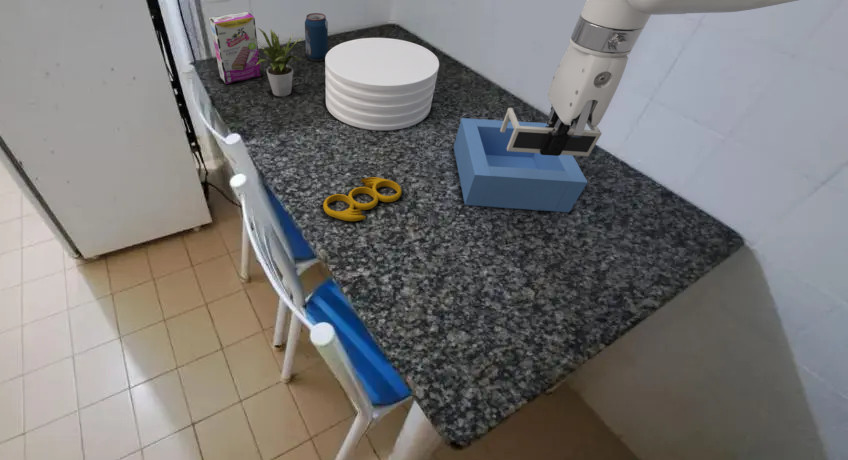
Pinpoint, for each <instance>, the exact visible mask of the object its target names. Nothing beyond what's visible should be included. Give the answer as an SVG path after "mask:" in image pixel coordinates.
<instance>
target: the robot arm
mask: <svg viewBox="0 0 848 460" xmlns="http://www.w3.org/2000/svg"><path fill="white" fill-rule="evenodd" d="M797 1H799V0H585V3H584V5H583V7H582V10H581V12H580V13H579V16H578V19H577V21H576V24H575V26H574V29H573V31H572V33H571V35H570V38H569V40H568V42H569V45H568V47H567V48H566V50H565V52H564V54H563V56H562V58H561V60H560V62H559V64H558V67H557V69H556V71H555V73H554V74H553V78H552V79H551V82H550V85H549V88H548V91H547V97H548V101H549V102H550V105H551V107H550V111H549V113H548V117H547V119H546V123H547V125H549V126H546V127H547V128H553V130H552V132H549V133H548V135H547V137H546V139H545V141H544V143H543V145H542V148H541V150H540V154H541V155H551V156H559V155H561V153H562V151H563V149H564V147H565V145H566V143H567V141H568V139H569V137H581V136H582V134H583V131H584V130H586V129H585V128H586V125H587V122H588V123H589V125H590V126H592V127H596V126H597V127H598V125H599V124H600V123H601V121H602V119H603V117H604V116H605V114H606V112H607V110H608V108H609V106H610V104H611V102H612V100H613V98H614V96H615V95H616V91H617V89H618V87H619V85H620V83H621V81H622V77H623V75H624V72H625V70H626V67H627V64H628V60H629V55H630V54H631V52H632V50H633V48H634V47H635V45H636V43H637V41H638V40H639V37H640V36H641V34H642V32H643V31H644V29H645V27H646V25H647V24H648V21H649V19H650V18H651V16H652V15H653V16H661V15H663V16H665V15H685V14H710V13H711V14H713V13H714V14H717V13H719V14H720V13H723V14H724V13H737V12H745V11H751V10H757V9H761V8H766V7H772V6H777V5H782V4H787V3H792V2H797Z"/></svg>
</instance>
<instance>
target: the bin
mask: <svg viewBox="0 0 848 460" xmlns="http://www.w3.org/2000/svg"><path fill="white" fill-rule="evenodd" d="M503 121H504V120H499V119H482V118H467V117H466V118H465V117H461V118H460V122H459V125H458V130H457V133H456V137H455V140H454V144H453V151H454V157H455V162H456V165H457V172H458V177H459V182H460V188H461V192H462V198H463V202H464V206H476V207H487V208H500V209H514V210H515V209H517V210H528V211H529V210H531V211H542V212H543V211H544V212H558V213H570V212H571V210H572V209H573V207H574V206H575V204H576V203H577V200H578V199H579V198H580V196H581V194H582V192H583V191H584V189H585V188H586V186H587V184H588V180H587V179H586V177H585V175H584V173H583V171H582V169H581V168H580V166H579V164H578V162H577V161H576V159H575V156H574V155H559V156H551V155H541V154H540V153H528V152H513V151H507V146H508V143H509V141H510V138H511V136H512V133H513V131H514V128H513V125H512V123H511V120H509V122H508V125H507V128H506V130H505V133H503V132H501V131H500V129H501V127H502V124H503ZM518 123H519V125H520V126H530V127H546V126H549V125H547V122H535V121H534V122H532V121H518Z"/></svg>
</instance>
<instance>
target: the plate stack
mask: <svg viewBox="0 0 848 460" xmlns="http://www.w3.org/2000/svg"><path fill="white" fill-rule="evenodd" d="M324 61H325V62H324V67H325V69H324V70H325V71H324V76H325V78H324V80H325V106H326V109H327V111H328V113H330V114H331V115H332V116H333V118H335V119H336V120H339V122H342V123H344V124H346V125H349V126H351V127H354V128H359V129H363V130H369V131H396V130H402V129H406V128H410V127H412V126H415V125H417V124H419V123H420V122H422V121H423V120H425V119H426V118H427V117H428V115H429V114H430V112H431V108H432V102H433V98H434V94H435V93H434V92H435V88H436V83H437V79H438V74H439V73H438V72H439V68H440V61H439V58H438V57H437V56H436V55H435V53H434V52H432V50H430V49H428V48H427V47H425V46H422V45H420V44H417V43H414V42H411V41H407V40H403V39H397V38H389V37H366V38H365V37H363V38H357V39H352V40H347V41H344V42H341V43H339V44H337V45H335V46H334V47H333V46H332V48H331V49H328V53H327V54H326V57H325V59H324Z"/></svg>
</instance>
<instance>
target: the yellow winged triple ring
mask: <svg viewBox="0 0 848 460" xmlns="http://www.w3.org/2000/svg"><path fill="white" fill-rule="evenodd" d="M360 183H363V185H364V186H356V187H355V188H352V190H350V191H349V192H348V195H346V194H343V193H334V194H331V195H329V196H328V197H326V198H325V199H324V201H323V204H322V206H323V207H322V209H323V211H324V213H326V215H328V216H329V217H331V218H334V219H338V220H341V221H344V222H359V221H362V220H365V219H366V218H367V216H366V215H363V211H368V210H372V209H373V208H375V207H376V206H377V205H378V202H382V203H393V202H396V201H397V200H399V199H400V198H401V197H402V187H401V185H400V184H398V183H397V182H396V181H394V180H391V179H387V178H382V177H377V176H369V177H364V178H361V179H360ZM382 187H383V188H384V187H388V188H392V189H393V190H395V191H396V193H394V194H391V195H385V194H381V193H380V192H379V191H377V190H378V189H380V188H382ZM359 194H366V195H369V196H370V197H372V199H373V200H372V201H370V202H367V203H363V202H359V201H356V200H355V199H354V198H353V197H355V196H356V195H359ZM338 201H339V202H344V203H346V204H347V205H349V207H348V208H346V209H344V210H334V209H331V207H329V204H331V203H333V202H338Z"/></svg>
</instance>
